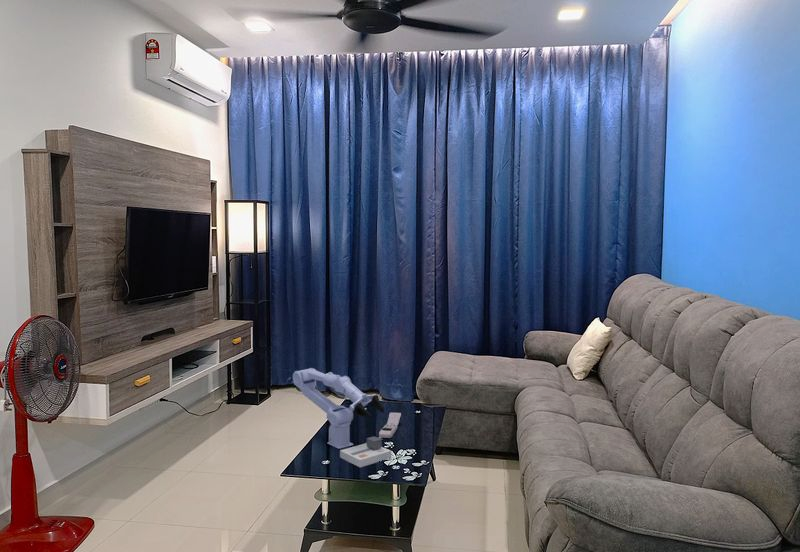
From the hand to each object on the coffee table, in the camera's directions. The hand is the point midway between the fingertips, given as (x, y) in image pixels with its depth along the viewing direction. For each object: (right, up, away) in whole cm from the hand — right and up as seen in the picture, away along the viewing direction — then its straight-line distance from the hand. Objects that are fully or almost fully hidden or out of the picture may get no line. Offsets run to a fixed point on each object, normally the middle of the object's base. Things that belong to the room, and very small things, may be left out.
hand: (376, 413), depth 240 cm
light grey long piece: (+5, -17, +33) cm, 37 cm away
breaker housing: (-5, -18, 0) cm, 19 cm away
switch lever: (-1, -15, +2) cm, 15 cm away
